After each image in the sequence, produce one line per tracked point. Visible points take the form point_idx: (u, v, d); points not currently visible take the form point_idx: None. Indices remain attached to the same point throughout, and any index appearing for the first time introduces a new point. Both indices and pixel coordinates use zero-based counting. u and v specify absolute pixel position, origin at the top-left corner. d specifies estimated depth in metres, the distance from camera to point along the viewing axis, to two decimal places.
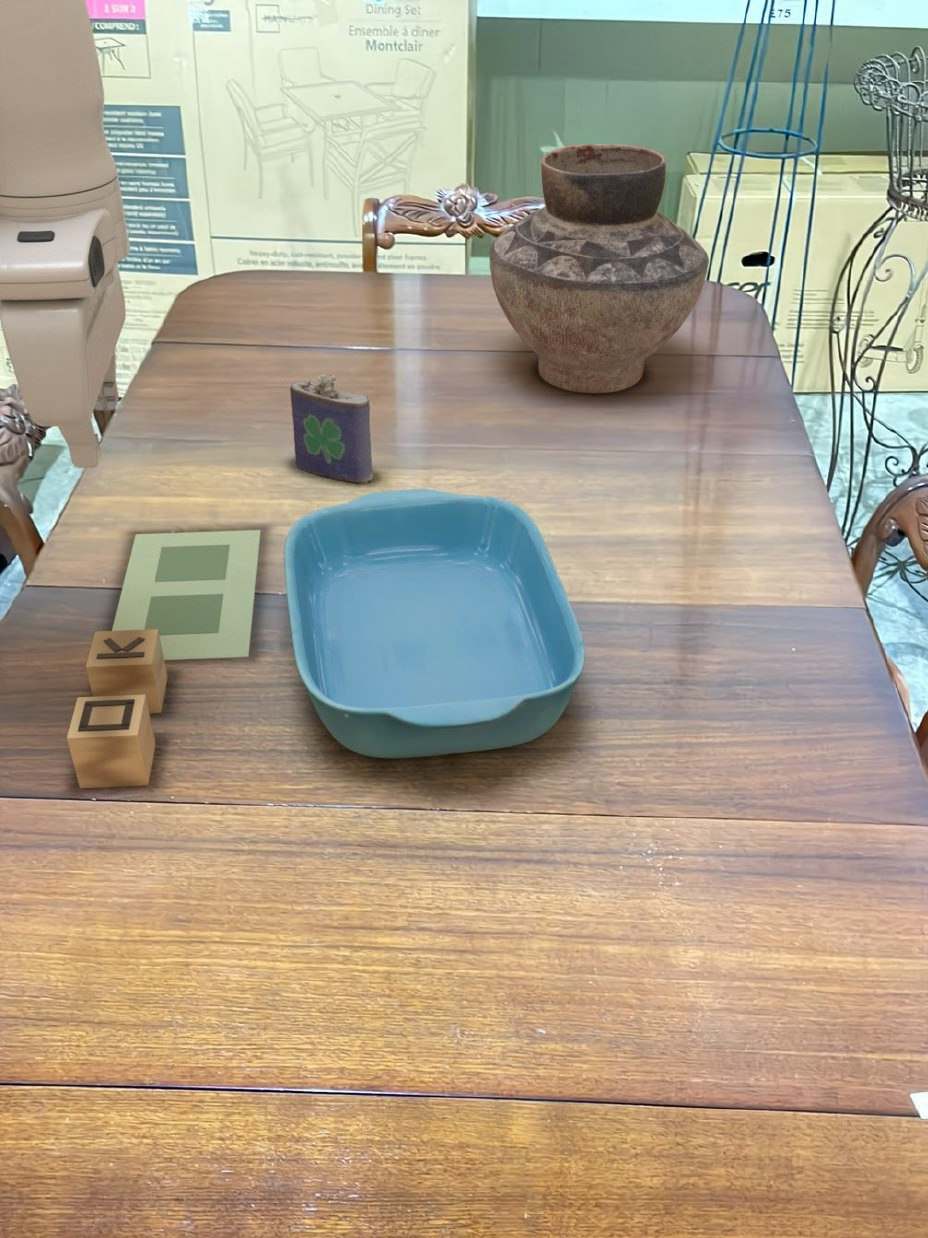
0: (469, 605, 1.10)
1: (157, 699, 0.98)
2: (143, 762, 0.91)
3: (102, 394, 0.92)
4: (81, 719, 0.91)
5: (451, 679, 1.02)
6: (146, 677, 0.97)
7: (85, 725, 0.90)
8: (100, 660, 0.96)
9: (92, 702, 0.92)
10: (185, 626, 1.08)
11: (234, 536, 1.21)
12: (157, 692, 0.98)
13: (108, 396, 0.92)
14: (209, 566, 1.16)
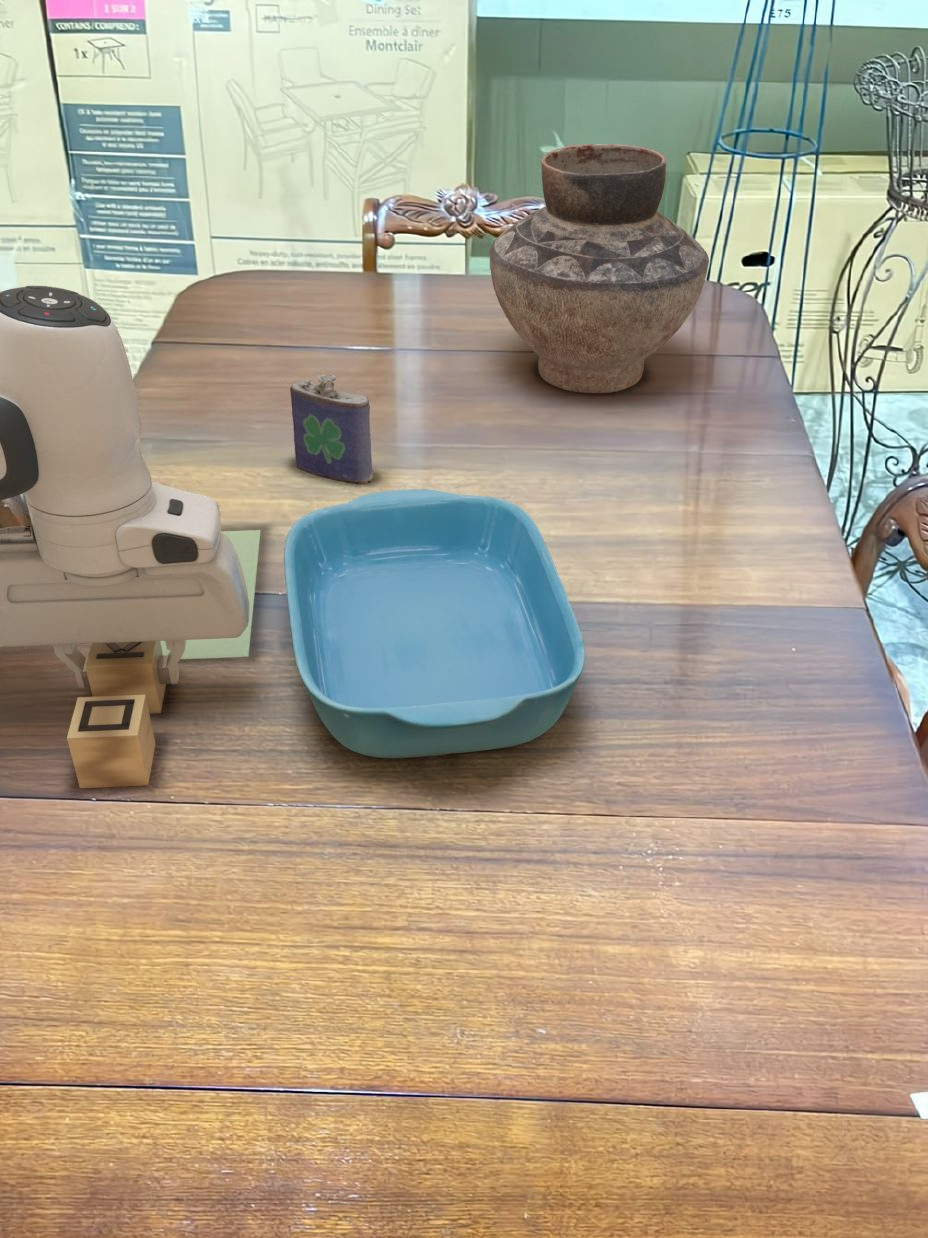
0: (469, 605, 1.10)
1: (157, 699, 0.98)
2: (143, 762, 0.91)
3: None
4: (81, 719, 0.91)
5: (451, 679, 1.02)
6: (146, 677, 0.97)
7: (85, 725, 0.90)
8: (100, 660, 0.96)
9: (92, 702, 0.92)
10: None
11: (234, 536, 1.21)
12: (157, 692, 0.98)
13: None
14: None
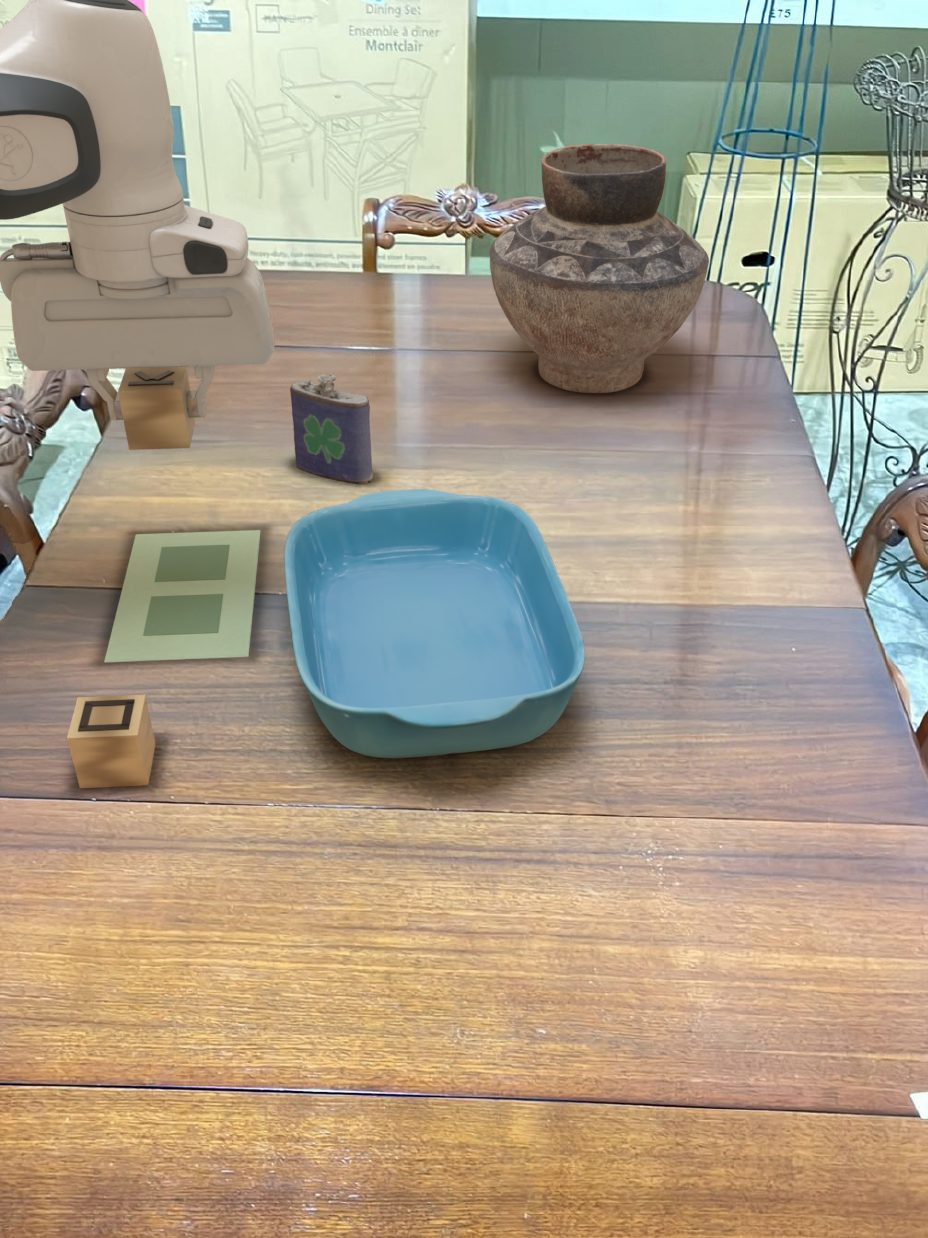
0: (469, 605, 1.10)
1: (186, 429, 1.03)
2: (143, 762, 0.91)
3: None
4: (81, 719, 0.91)
5: (451, 679, 1.02)
6: (175, 404, 1.01)
7: (85, 725, 0.90)
8: (132, 387, 1.01)
9: (92, 702, 0.92)
10: (185, 626, 1.08)
11: (234, 536, 1.21)
12: (186, 421, 1.02)
13: None
14: (209, 566, 1.16)
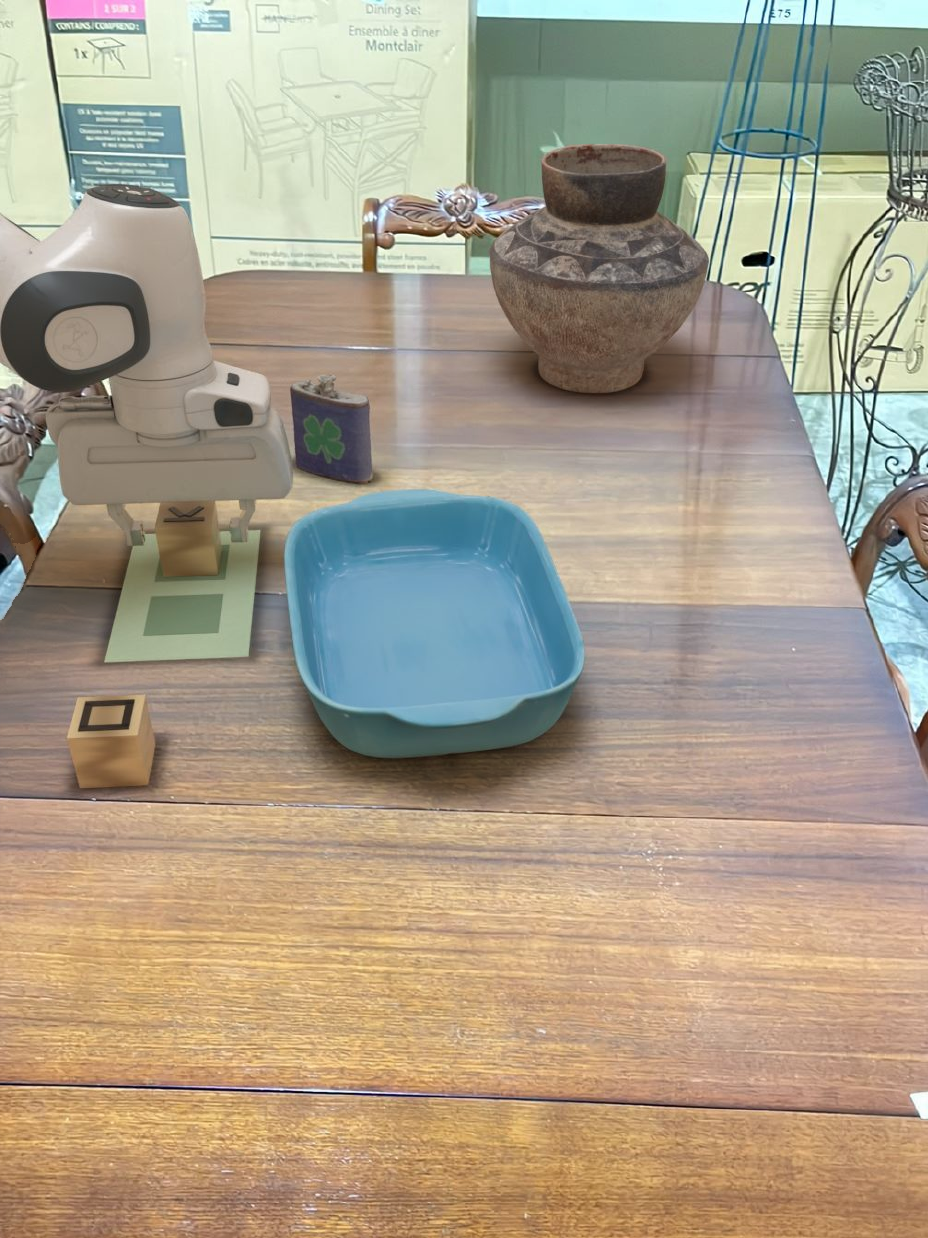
0: (469, 605, 1.10)
1: (215, 559, 1.14)
2: (143, 762, 0.91)
3: None
4: (81, 719, 0.91)
5: (451, 679, 1.02)
6: (206, 538, 1.12)
7: (85, 725, 0.90)
8: (167, 523, 1.12)
9: (92, 702, 0.92)
10: (185, 626, 1.08)
11: None
12: (215, 553, 1.14)
13: (141, 530, 1.15)
14: None
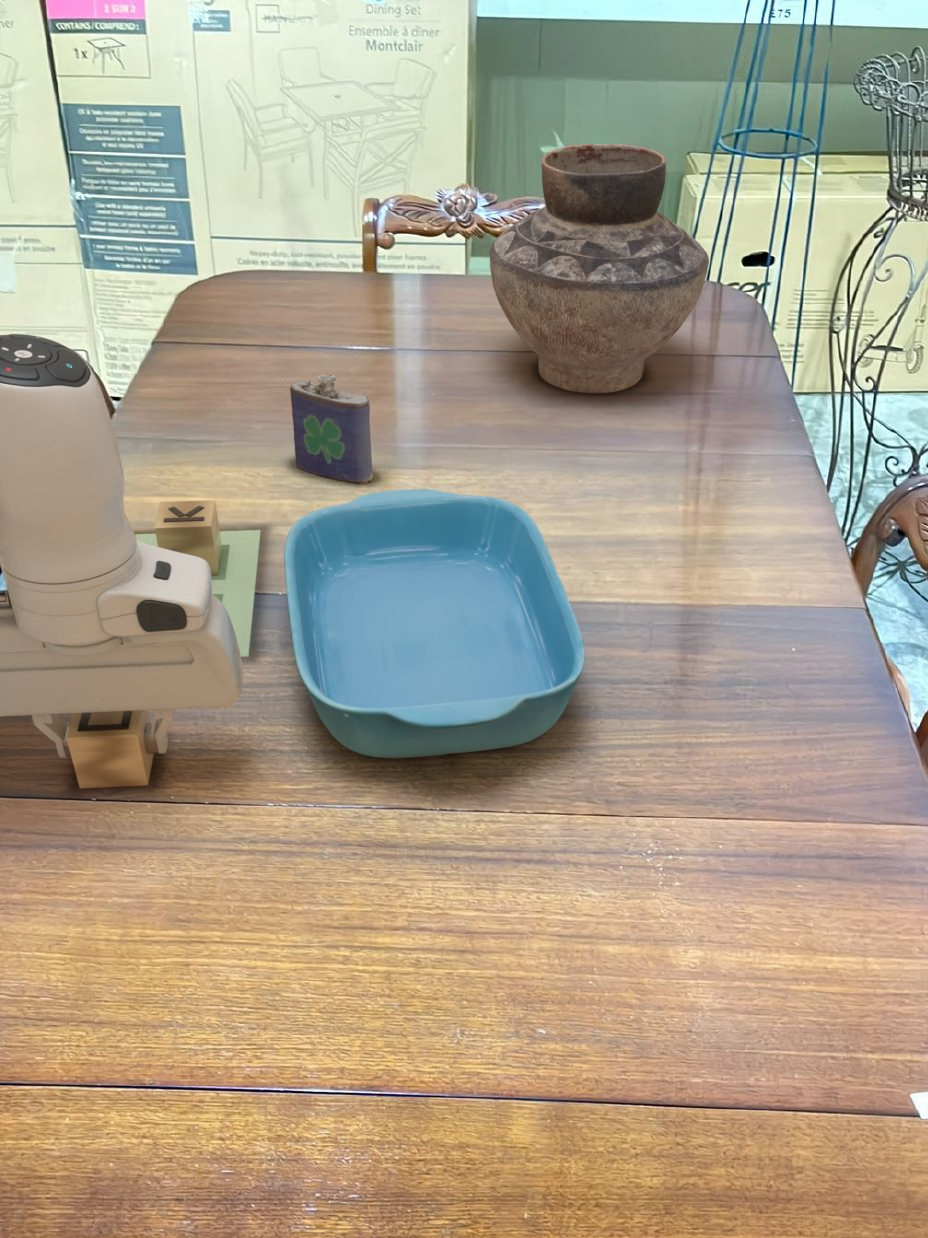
0: (469, 605, 1.10)
1: (215, 559, 1.14)
2: (143, 762, 0.91)
3: None
4: (81, 719, 0.91)
5: (451, 679, 1.02)
6: (206, 538, 1.12)
7: (85, 725, 0.90)
8: (167, 523, 1.12)
9: None
10: None
11: (234, 536, 1.21)
12: (215, 553, 1.14)
13: None
14: None
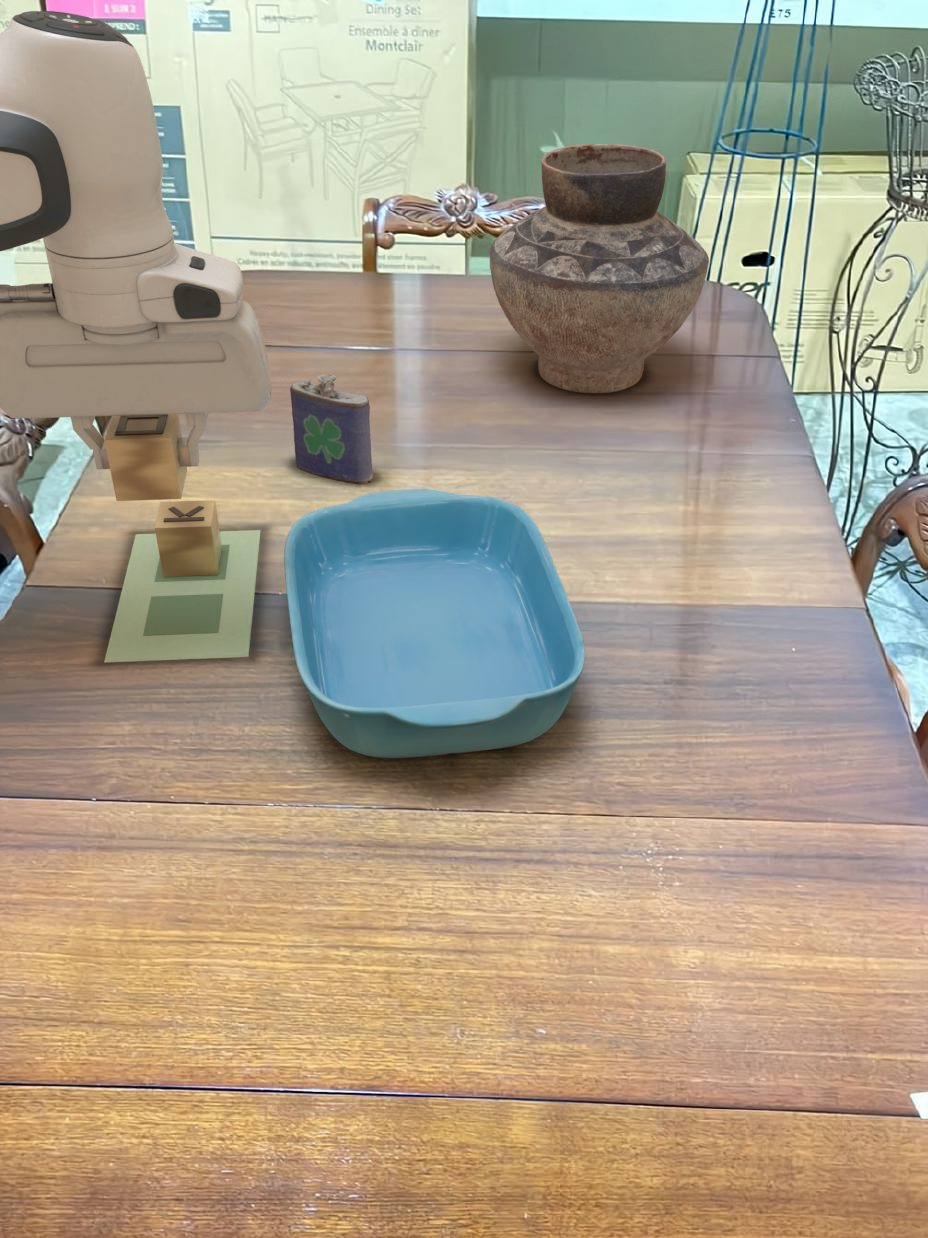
0: (469, 605, 1.10)
1: (215, 559, 1.14)
2: (176, 469, 0.96)
3: None
4: (117, 427, 0.96)
5: (451, 679, 1.02)
6: (206, 538, 1.12)
7: (121, 431, 0.95)
8: (167, 523, 1.12)
9: (127, 415, 0.97)
10: (185, 626, 1.08)
11: (234, 536, 1.21)
12: (215, 553, 1.14)
13: None
14: None
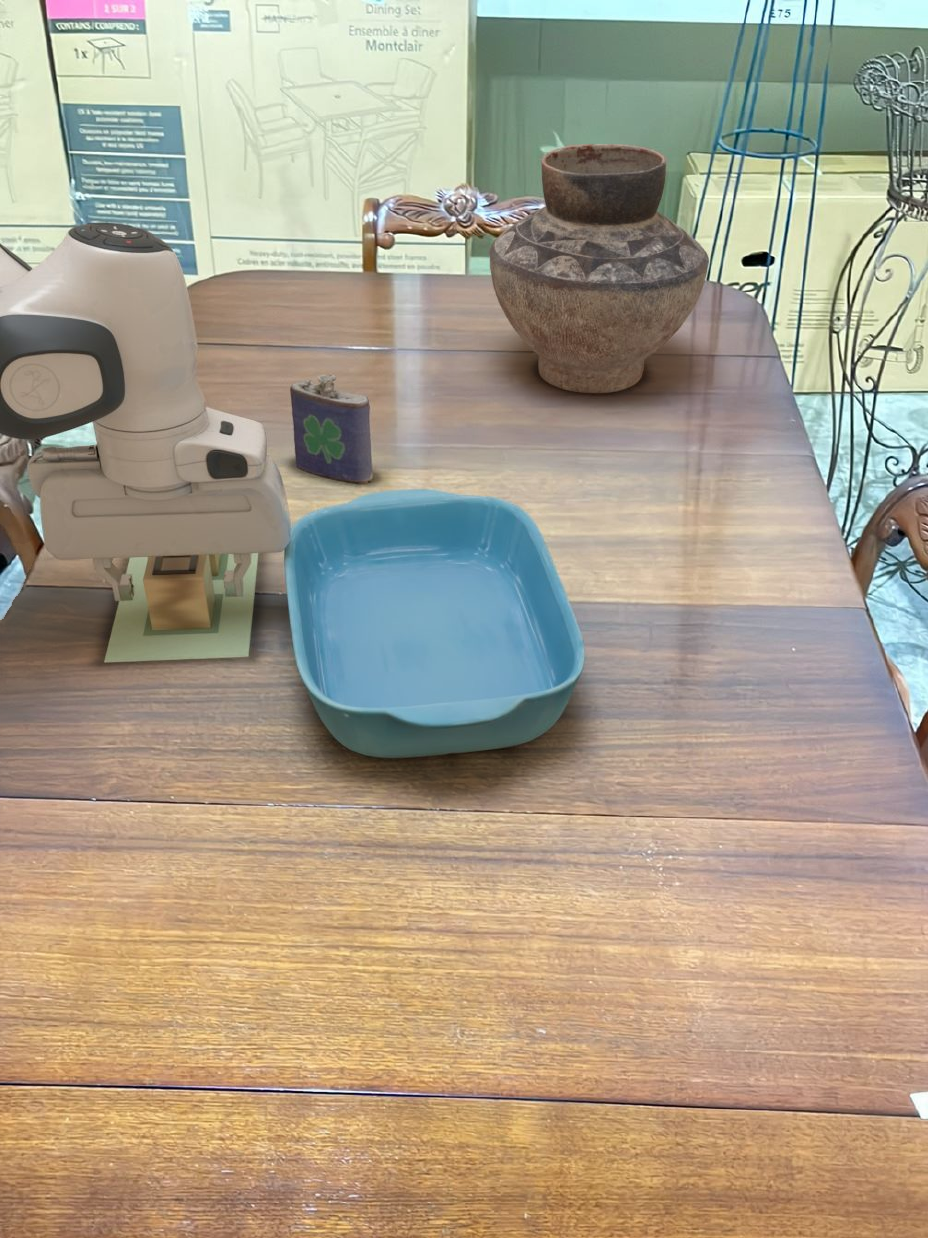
0: (469, 605, 1.10)
1: (215, 559, 1.14)
2: (207, 603, 1.07)
3: None
4: (154, 566, 1.06)
5: (451, 679, 1.02)
6: None
7: (158, 570, 1.06)
8: None
9: None
10: None
11: None
12: None
13: (130, 584, 1.08)
14: None
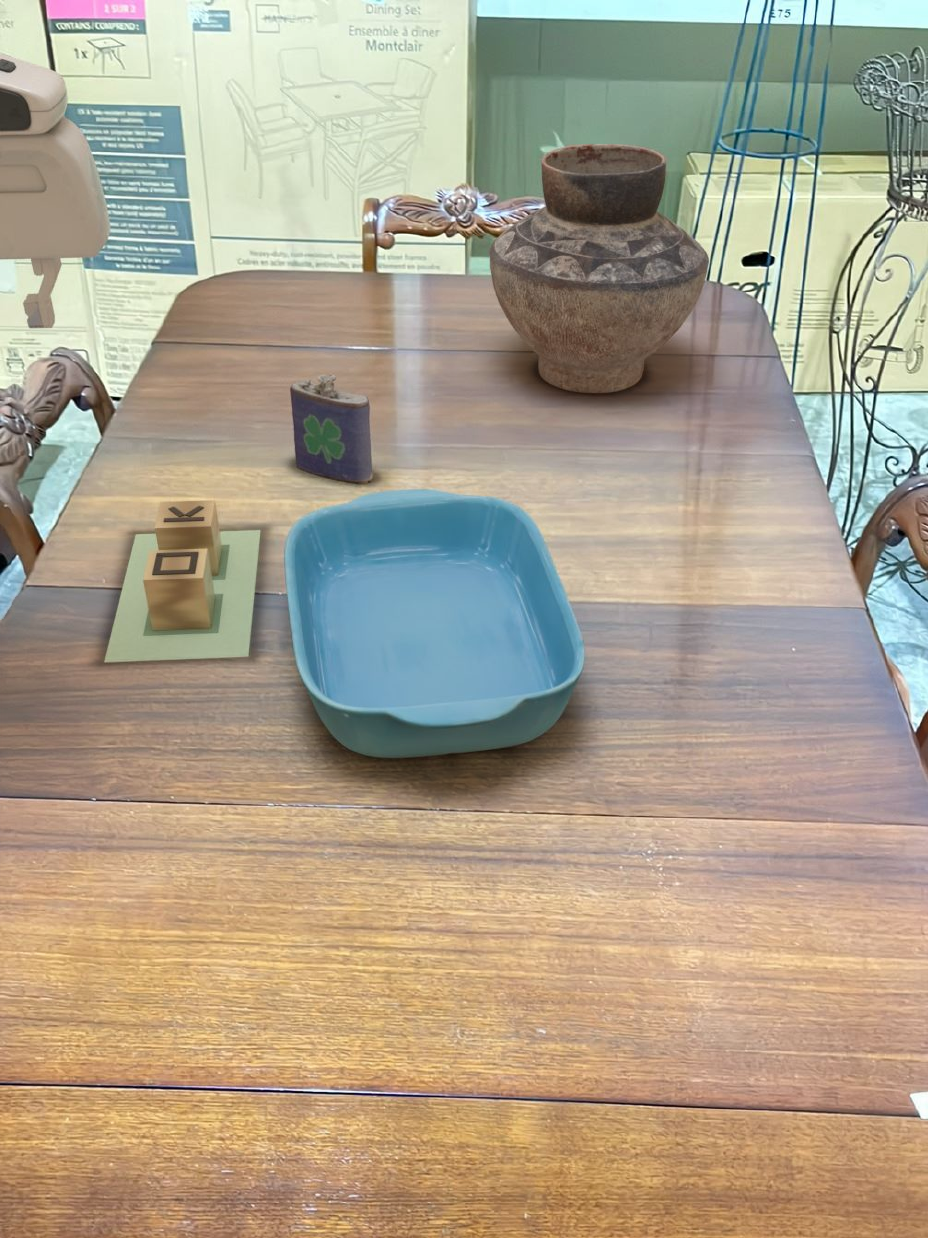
0: (469, 605, 1.10)
1: (215, 559, 1.14)
2: (207, 603, 1.07)
3: None
4: (154, 566, 1.06)
5: (451, 679, 1.02)
6: (206, 538, 1.12)
7: (158, 570, 1.06)
8: (167, 523, 1.12)
9: (162, 553, 1.08)
10: None
11: (234, 536, 1.21)
12: (215, 553, 1.14)
13: None
14: None
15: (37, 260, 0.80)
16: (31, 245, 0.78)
